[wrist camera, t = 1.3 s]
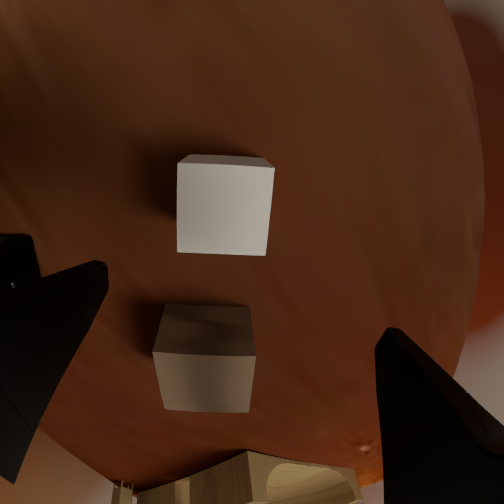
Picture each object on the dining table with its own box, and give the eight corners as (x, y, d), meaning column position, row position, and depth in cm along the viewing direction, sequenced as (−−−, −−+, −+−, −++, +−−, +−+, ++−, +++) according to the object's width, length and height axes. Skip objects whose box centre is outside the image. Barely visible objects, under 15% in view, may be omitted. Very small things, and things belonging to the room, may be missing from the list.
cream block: (188, 223, 21) (177, 252, 16) (190, 154, 19) (177, 163, 14) (257, 226, 21) (265, 255, 17) (263, 157, 19) (274, 167, 15)
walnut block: (172, 360, 26) (164, 409, 21) (166, 302, 23) (152, 351, 18) (244, 363, 27) (248, 412, 21) (249, 305, 24) (255, 356, 19)
